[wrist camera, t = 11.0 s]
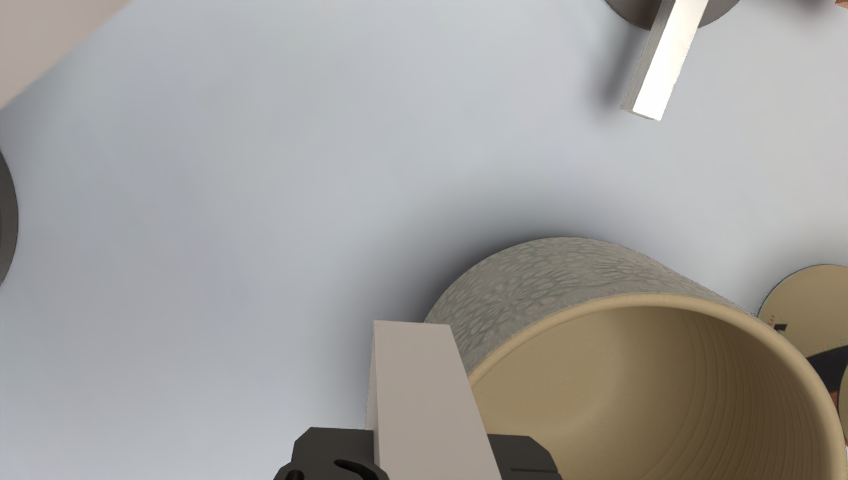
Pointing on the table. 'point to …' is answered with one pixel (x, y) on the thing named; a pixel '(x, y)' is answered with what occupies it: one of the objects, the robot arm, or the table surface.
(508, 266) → the planter
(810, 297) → the coffee cup
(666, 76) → the silver cross-shaped piece
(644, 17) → the stand
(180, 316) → the table surface
